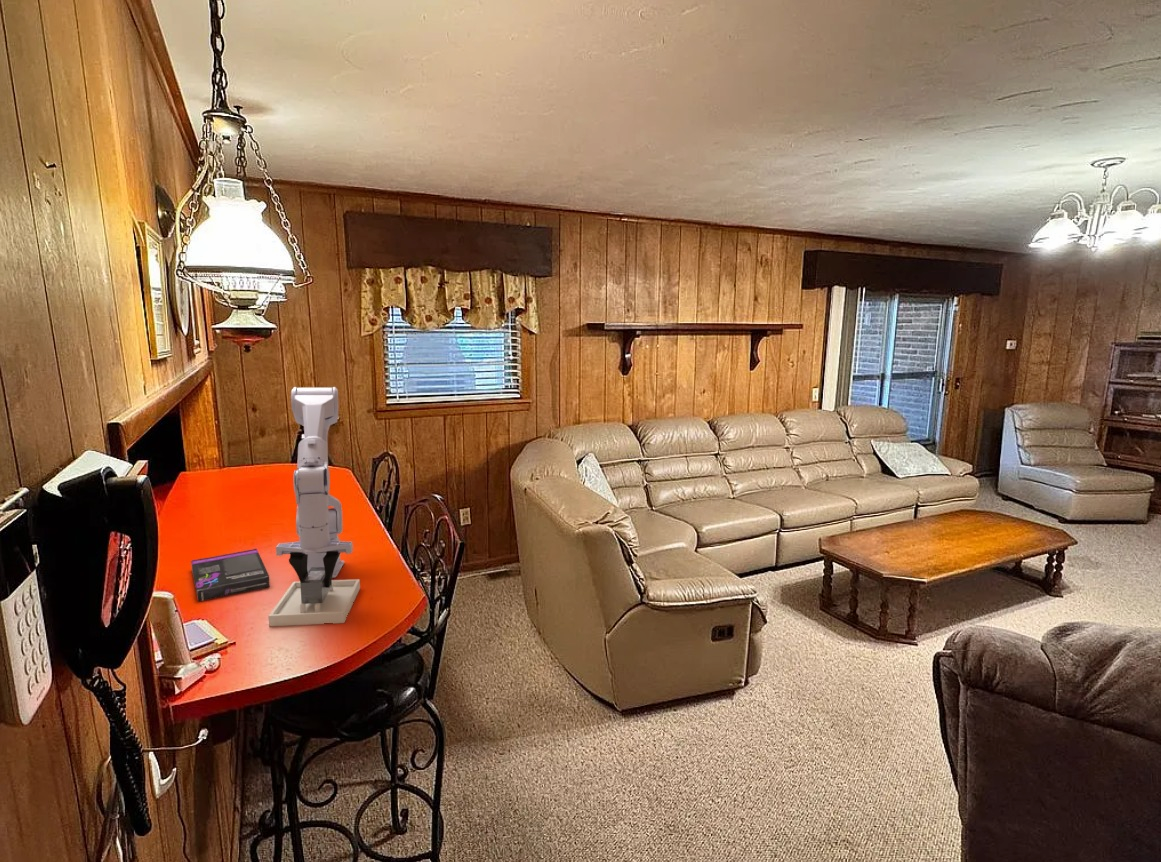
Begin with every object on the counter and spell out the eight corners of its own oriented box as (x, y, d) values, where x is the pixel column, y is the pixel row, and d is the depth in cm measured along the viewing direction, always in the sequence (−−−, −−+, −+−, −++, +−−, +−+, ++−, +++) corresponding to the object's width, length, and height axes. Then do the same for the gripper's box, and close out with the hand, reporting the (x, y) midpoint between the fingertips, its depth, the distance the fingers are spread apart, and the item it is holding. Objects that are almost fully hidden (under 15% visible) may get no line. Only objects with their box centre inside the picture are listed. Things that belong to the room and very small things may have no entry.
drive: (312, 587, 130) (311, 566, 129) (331, 586, 131) (330, 566, 130) (301, 603, 122) (300, 582, 121) (322, 603, 123) (321, 581, 122)
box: (192, 574, 143) (196, 604, 127) (190, 559, 142) (195, 588, 127) (258, 561, 151) (270, 589, 135) (257, 548, 150) (269, 574, 134)
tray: (293, 590, 134) (293, 578, 133) (359, 588, 136) (359, 576, 135) (269, 626, 118) (268, 612, 118) (344, 622, 120) (343, 608, 120)
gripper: (269, 531, 119) (273, 595, 121) (346, 529, 121) (349, 592, 123) (281, 519, 126) (284, 581, 128) (354, 518, 128) (356, 578, 130)
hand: (316, 586), depth 126 cm, fingers closed on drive, 4 cm apart
